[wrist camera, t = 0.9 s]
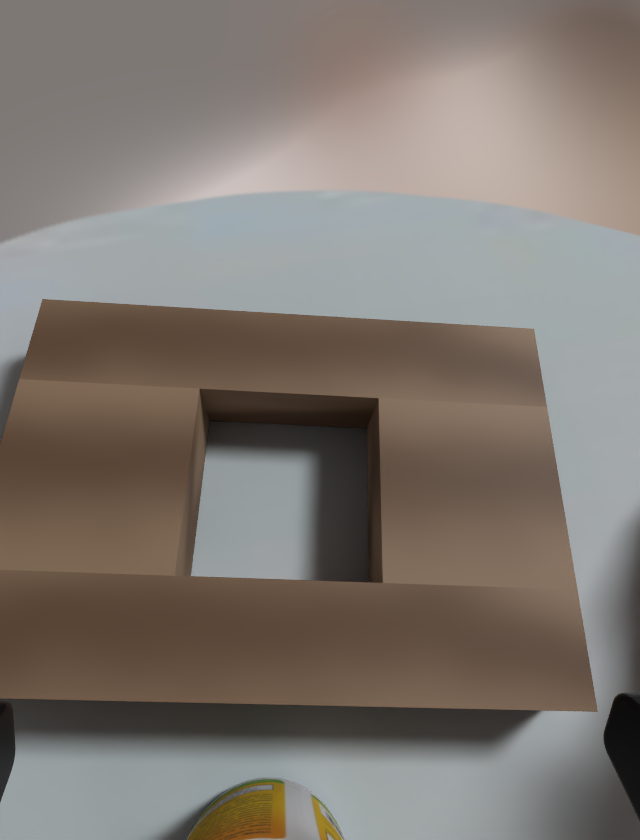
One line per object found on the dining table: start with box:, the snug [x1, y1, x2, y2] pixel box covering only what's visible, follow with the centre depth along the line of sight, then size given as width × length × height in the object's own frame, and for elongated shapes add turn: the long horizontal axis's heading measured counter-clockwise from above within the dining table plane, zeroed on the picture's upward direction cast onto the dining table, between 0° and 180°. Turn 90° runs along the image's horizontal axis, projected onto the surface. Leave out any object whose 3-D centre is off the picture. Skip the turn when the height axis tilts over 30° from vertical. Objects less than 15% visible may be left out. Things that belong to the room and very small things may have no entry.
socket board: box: [0, 299, 598, 712], centre depth 20 cm, size 14×20×3 cm
